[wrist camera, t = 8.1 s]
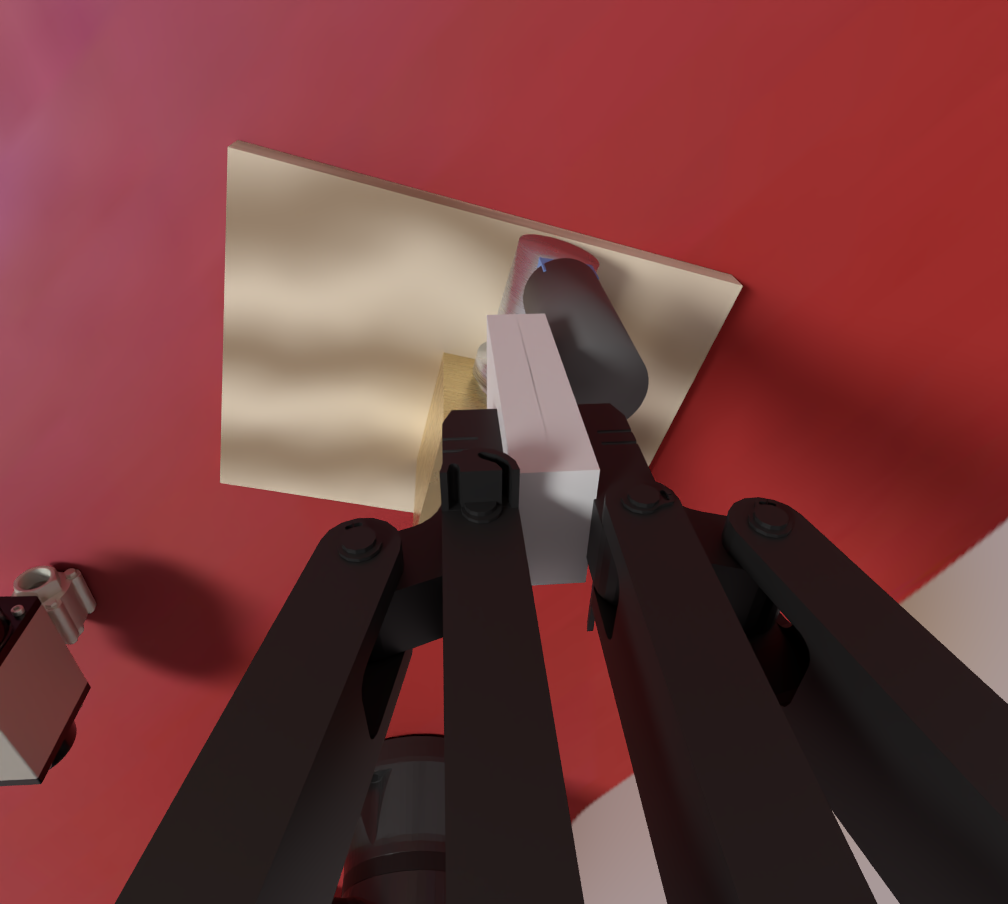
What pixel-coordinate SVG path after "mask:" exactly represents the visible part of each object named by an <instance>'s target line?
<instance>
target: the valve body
mask: <svg viewBox="0 0 1008 904" xmlns="http://www.w3.org/2000/svg"><path fill="white" fill-rule="evenodd" d="M539 257H542V258H548V259H559V258H571V259H576V260H579V261H581V262H583V263H585V264H589V265H592V266H593V268H594V270H595V271H596V273H597V270H598V267H599V261H598V260H597V259H596V258H595V257H594V256H593V255H591V254H590V253H589V252H587V251H585V250H583V249H582V248H580V247H577V246H575V245H573V244H570V243H568V242H565V241H562V240H559V239H556V238H552V237H548V236H543V235H536V234H527V235H522V236H521V237H520V238H519V242H518V245H517V248H516V252H515V255H514V259H513V262H512V265H511V269H510V272H509V276H508V279H507V282H506V286H505V289H504V293H503V296H502V300H501V303H500V306H499V310H498V313H497V315H500V314H526V313H525V309H524V305H523V292H524V288H525V285H526V283H527V281H528V279H529V277H530V276H531V275H532V273H533V272H534V271H535V270H536V269H537V266H538V261H539ZM472 409H487V342H485V343H483V344H482V345H480V347H479V348H478V351H477V355H476V358H475V359H472V358H468V357H463V356H458V355H454V354H449V353H445V352H443V356H442V360H441V364H440V368H439V372H438V376H437V380H436V385H435V389H434V393H433V397H432V401H431V405H430V409H429V413H428V417H427V421H426V425H425V429H424V433H423V437H422V441H421V445H420V449H419V453H418V457H417V464H416V481H415V498H414V515H413V526H416V525H418V524H421V523H423V522H424V521H426V520H428V519H429V518H431V517H432V516H433V515H434V514H435V513H436V512H437V511H438V509H439V507H440V505H441V490H440V474H439V473H440V469H441V466H442V423H443V422H444V420H445V419H446V417H447V416H448V414H449V413H450V412H451V410H472Z"/></svg>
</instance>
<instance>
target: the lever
mask: <svg viewBox="0 0 1008 904" xmlns="http://www.w3.org/2000/svg"><path fill="white" fill-rule="evenodd" d="M523 305H524V309H525V313H526V314H545V315H546V318H547V321H548V324H549V327H550V329H551V332H552V335H553V338H554V341H555V344H556V346H557V349H558V352H559V355H560V358H561V361H562V363H563V366H564V369H565V372H566V375H567V378H568V380H569V383H570V386H571V389H572V392H573V395H574V397H575V400H576V403H577V404H600V403H610V404H612V405H613V406H614V407H615V408H616V409H618V410H619V411H620V412H621V413H623V414H624V415H625V417H626V419H628V418H629V417H631V416H632V415H633V414H634V413H635V412H636V411H637V410H638V408H639V407H640V406H641V404H642V402H643V401H644V399H645V396H646V394H647V390H648V384H649V377H648V372H647V369H646V366H645V364H644V362H643V360H642V359H641V357H640V355H639V353H638V351H637V349H636V347H635V346H634V344H633V342H632V340H631V338H630V336H629V335H628V333H627V331H626V329H625V327H624V325H623V324H622V322H621V320H620V318H619V316H618V314H617V313H616V311H615V309H614V307H613V305H612V303H611V302H610V300H609V298H608V296H607V294H606V292H605V291H604V289H603V287H602V285H601V283H600V281H599V277H598V275H597V273H596V271H595V270H594V268H593V266H592V265H589V264H585V263H583V262H581V261H579V260H576V259H571V258H559V259H548V258H542V257H539V261H538V266H537V269H536V270H535V271H534V272H533V273H532V275H531V276H530V277H529V279H528V281H527V283H526V285H525V288H524V292H523Z"/></svg>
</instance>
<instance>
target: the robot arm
mask: <svg viewBox="0 0 1008 904" xmlns="http://www.w3.org/2000/svg"><path fill="white" fill-rule="evenodd" d="M439 474H440V490H441V505H440V507H439V509H438V511H437V512H436V513H435V514H434V515H433V516H432V517H431V518H429V519H428V520H426V521H424V522H423V523H421V524H418V525H416V526H413V527H410V528H407V529H404V530H400V531H397V529H396V528H395V527H393V526H392V525H390V524H389V523H388V522H386V521H382V520H378V519H375V518H357V519H354V520H350V521H346V522H343V523H341V524H339V525H337V526H336V527H334V528H332V529H331V530H329V531H328V532H327V533H326V535H325V536H324V537H323V538H322V539H321V540H320V542H319V544H318V546H317V547H316V549H315V551H314V553H313V554H312V556H311V558H310V560H309V561H308V563H307V565H306V567H305V569H304V570H303V572H302V574H301V576H300V577H299V579H298V581H297V583H296V584H295V586H294V588H293V590H292V591H291V593H290V595H289V597H288V599H287V600H286V602H285V604H284V606H283V607H282V609H281V611H280V613H279V614H278V616H277V618H276V620H275V621H274V623H273V625H272V627H271V629H270V630H269V632H268V634H267V636H266V637H265V639H264V641H263V643H262V644H261V646H260V648H259V650H258V652H257V653H256V655H255V657H254V659H253V660H252V662H251V664H250V666H249V667H248V669H247V671H246V673H245V674H244V676H243V678H242V680H241V682H240V683H239V685H238V687H237V689H236V690H235V692H234V694H233V696H232V697H231V699H230V701H229V703H228V705H227V706H226V708H225V710H224V712H223V713H222V715H221V717H220V719H219V720H218V722H217V724H216V726H215V727H214V729H213V731H212V733H211V735H210V736H209V738H208V740H207V742H206V743H205V745H204V747H203V749H202V750H201V752H200V754H199V756H198V758H197V759H196V761H195V763H194V765H193V766H192V768H191V770H190V772H189V773H188V775H187V777H186V779H185V780H184V782H183V784H182V786H181V788H180V789H179V791H178V793H177V795H176V796H175V798H174V800H173V802H172V803H171V805H170V807H169V809H168V810H167V812H166V814H165V816H164V818H163V819H162V821H161V823H160V825H159V826H158V828H157V830H156V832H155V833H154V835H153V837H152V839H151V841H150V842H149V844H148V846H147V848H146V849H145V851H144V853H143V855H142V856H141V858H140V860H139V862H138V863H137V865H136V867H135V869H134V871H133V872H132V874H131V876H130V878H129V879H128V881H127V883H126V885H125V886H124V888H123V890H122V892H121V894H120V895H119V897H118V899H117V901H116V902H115V904H584V899H583V893H582V887H581V881H580V875H579V870H578V863H577V857H576V850H575V845H574V838H573V833H572V826H571V820H570V814H569V808H568V802H567V796H566V790H565V784H564V778H563V772H562V766H561V760H560V754H559V748H558V742H557V736H556V730H555V724H554V718H553V712H552V706H551V700H550V693H549V687H548V681H547V675H546V669H545V663H544V657H543V651H542V645H541V639H540V633H539V627H538V621H537V615H536V609H535V603H534V597H533V591H532V585H546V584H564V583H581V582H586V574H587V566H588V565H589V569H590V573H591V576H592V580H593V584H592V591H591V598H590V605H589V613H588V620H587V631H593V628H594V621H595V622H596V626H597V630H598V634H599V638H600V641H601V645H602V649H603V653H604V657H605V661H606V665H607V669H608V673H609V677H610V681H611V685H612V688H613V692H614V696H615V700H616V704H617V708H618V712H619V716H620V720H621V724H622V728H623V732H624V736H625V739H626V743H627V747H628V751H629V755H630V759H631V763H632V767H633V771H634V775H635V778H636V783H637V786H638V790H639V794H640V798H641V802H642V806H643V810H644V814H645V818H646V822H647V826H648V829H649V834H650V837H651V841H652V845H653V849H654V853H655V857H656V861H657V865H658V869H659V873H660V876H661V881H662V884H663V888H664V892H665V896H666V900H667V904H877V902H876V900H875V898H874V896H873V894H872V892H871V890H870V888H869V886H868V883H867V881H866V879H865V877H864V875H863V873H862V871H861V869H860V867H859V865H858V863H857V861H856V859H855V857H854V855H853V853H852V851H851V849H850V847H849V845H848V843H847V841H846V839H845V837H844V835H843V833H842V830H841V828H840V826H839V824H838V822H837V820H836V818H835V816H834V814H835V815H836V816H837V818H838V819H839V820H840V822H841V823H842V825H843V826H844V827H845V829H846V830H847V832H848V833H849V834H850V836H851V837H852V838H853V840H854V841H855V842H856V844H857V845H858V847H859V848H860V849H861V851H862V852H863V853H864V855H865V856H866V858H867V859H868V860H869V862H870V863H871V865H872V866H873V867H874V869H875V870H876V871H877V873H878V874H879V876H880V877H881V878H882V880H883V881H884V882H885V884H886V885H887V887H888V888H889V889H890V891H891V892H892V893H893V895H894V896H895V897H896V899H897V900H898V902H899V903H900V904H1008V704H1007V703H1006V702H1005V701H1004V700H1003V699H1002V698H1001V697H999V696H998V695H997V694H996V693H995V692H994V691H993V690H992V689H991V688H990V687H989V686H987V685H986V684H985V683H984V682H983V681H982V680H981V679H980V678H979V677H978V676H976V674H974V673H973V672H972V671H971V670H970V669H969V668H968V667H967V666H966V665H965V664H963V663H962V662H961V661H960V660H959V659H958V658H957V657H956V656H955V655H954V654H953V653H952V652H950V651H949V650H948V649H947V648H946V647H945V646H944V645H943V644H941V642H940V641H938V640H937V639H936V638H935V637H934V636H933V635H932V634H931V633H930V632H929V631H928V630H926V629H925V628H924V627H923V626H922V625H921V624H920V623H919V622H918V621H917V620H916V619H914V618H913V617H912V616H911V615H910V614H909V613H908V612H907V611H906V610H905V609H904V608H902V607H901V606H900V605H899V604H898V603H897V602H896V601H895V600H894V599H893V598H892V597H891V596H889V595H888V594H887V593H886V592H885V591H884V590H883V589H882V588H881V587H880V586H879V585H877V584H876V583H875V582H874V581H873V580H872V579H871V578H870V577H869V576H868V575H867V574H865V573H864V572H863V571H862V570H861V569H860V568H859V567H858V566H857V565H856V564H855V563H853V562H852V561H851V560H850V559H849V558H848V557H847V556H846V555H845V554H844V553H843V552H841V551H840V550H839V549H838V548H837V547H836V546H835V545H834V544H833V543H832V542H831V541H829V540H828V539H827V538H826V537H825V536H824V535H823V534H822V533H821V532H820V531H819V530H817V529H816V528H815V527H814V526H813V525H812V524H811V523H810V522H809V521H808V520H807V519H805V518H804V517H803V516H802V515H801V514H800V513H798V512H797V511H795V510H794V509H792V508H791V507H790V506H788V505H785V504H783V503H780V502H778V501H775V500H771V499H765V498H759V497H757V498H744V499H742V500H740V501H738V502H735V503H734V504H733V505H732V507H731V508H730V509H729V511H728V515H727V516H724V515H718V514H712V513H707V512H701V511H697V510H693V509H689V508H686V507H684V506H682V504H681V502H680V500H679V498H678V497H677V496H676V495H675V493H674V492H673V491H672V490H671V489H669V488H667V487H666V486H664V485H663V484H661V483H658V482H655V480H654V478H653V475H652V473H651V471H650V469H649V467H648V465H647V462H646V460H645V458H644V456H643V454H642V452H641V449H640V447H639V445H638V444H637V441H636V439H635V436H634V434H633V432H631V428H630V425H629V423H628V421H627V419H626V417H625V415H624V414H623V413H621V412H620V411H619V410H618V409H616V408H615V407H614V406H613V405H612V404H610V403H600V404H577V403H576V400H575V397H574V395H573V392H572V389H571V386H570V383H569V380H568V378H567V375H566V372H565V369H564V366H563V363H562V361H561V358H560V355H559V352H558V349H557V346H556V344H555V341H554V338H553V335H552V332H551V329H550V327H549V324H548V321H547V318H546V315H545V314H500V315H487V409H472V410H451V412H450V413H449V414H448V416H447V417H446V419H445V420H444V422H443V423H442V466H441V469H440V473H439ZM780 611H781V612H782V613H783V614H784V615H785V617H786V618H787V619H788V620H789V621H790V622H791V623H790V622H789V621H788V620H786V619H785V618H784V617H783V616H782V614H781V613H780ZM442 637H443V669H444V738H442V737H433V736H410V737H400V738H394V739H389V740H384V739H385V736H386V733H387V730H388V727H389V724H390V721H391V718H392V715H393V711H394V708H395V705H396V702H397V699H398V696H399V693H400V690H401V687H402V684H403V680H404V677H405V674H406V671H407V668H408V665H409V662H410V659H411V656H412V649H413V648H415V647H417V646H420V645H423V644H426V643H428V642H431V641H434V640H437V639H439V638H442ZM832 811H833V812H834V814H833V812H832ZM343 866H344V879H343V888H342V897H341V898H334V894H335V891H336V888H337V885H338V882H339V879H340V876H341V872H342V869H343Z"/></svg>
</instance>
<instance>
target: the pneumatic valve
mask: <svg viewBox="0 0 1008 904" xmlns="http://www.w3.org/2000/svg"><path fill="white" fill-rule="evenodd" d="M14 590H15V591H14V592H13V594H12V596H10V597H0V786H12V785H32V784H41V783H42V782H43V780H44V778H45V776H46V774H47V772H48V770H49V769H51V768H52V767H54V766H55V765H56V764H57V763H59V762H60V761H61V760H62V759H63V758H64V756H65V755H66V754H67V753H68V752H69V750H70V749H71V747H72V745H73V743H74V741H75V737H76V724H75V722H74V719H75V717H76V715H77V713H78V711H79V710H80V708H81V707H82V705H83V702H84V700H85V698H86V696H87V694H88V692H89V690H90V688H91V687H90V685H89V683H88V682H87V680H86V678H85V677H84V675H83V673H82V672H81V670H80V668H79V666H78V665H77V663H76V661H75V660H74V658H73V656H72V654H71V653H70V651H69V649H68V648H67V646H66V644H74V643H75V642H76V641H77V640H78V639H77V638H78V637H79V636H80V635H81V633H82V632H83V631H84V625H83V623H84V622H85V620H86V618H87V615H88V614H90V613H92V612H93V611H94V610H95V609H94V608H95V607H96V602H95V600H94V598H93V596H92V594H91V592H90V590H89V588H88V586H87V584H86V582H85V580H84V578H83V576H82V574H81V572H80V571H79V570H78V569H74V568H70V569H67V570H66V571H65V572H57V571H56V569H55V567H50V566H38V567H34V568H31V569H28V570H26V571H25V572H23V573H22V574H21V575H19V576H18V577H17V578H16V580H15V581H14Z"/></svg>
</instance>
